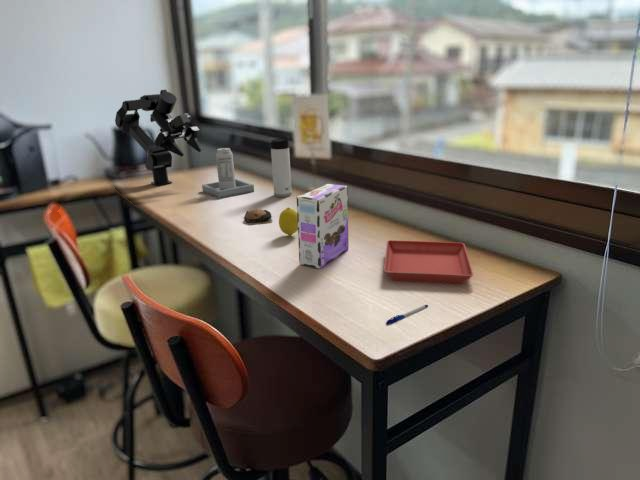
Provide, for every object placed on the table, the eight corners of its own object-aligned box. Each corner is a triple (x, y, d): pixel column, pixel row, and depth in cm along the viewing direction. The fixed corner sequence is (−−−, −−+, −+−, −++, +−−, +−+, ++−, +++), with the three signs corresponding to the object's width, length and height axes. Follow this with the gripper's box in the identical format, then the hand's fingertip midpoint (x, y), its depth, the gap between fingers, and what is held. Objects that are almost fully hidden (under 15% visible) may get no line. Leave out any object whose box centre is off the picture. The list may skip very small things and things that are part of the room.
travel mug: (292, 197, 166) (288, 139, 159) (273, 197, 166) (269, 139, 159) (293, 192, 172) (290, 136, 165) (275, 193, 172) (271, 137, 165)
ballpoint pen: (388, 326, 84) (388, 321, 84) (385, 324, 85) (385, 319, 84) (428, 307, 90) (428, 302, 89) (424, 306, 90) (424, 301, 90)
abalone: (274, 224, 140) (273, 212, 139) (245, 227, 139) (244, 215, 137) (269, 214, 150) (269, 203, 149) (242, 216, 148) (241, 205, 147)
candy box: (320, 269, 107) (317, 199, 102) (298, 265, 110) (294, 196, 105) (349, 249, 118) (348, 184, 112) (329, 245, 121) (327, 182, 115)
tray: (202, 191, 178) (201, 184, 177) (236, 184, 186) (235, 178, 185) (219, 198, 167) (218, 191, 167) (254, 191, 175) (253, 184, 174)
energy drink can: (237, 187, 179) (234, 147, 174) (233, 191, 173) (229, 150, 168) (222, 187, 180) (218, 147, 174) (217, 191, 174) (212, 150, 169)
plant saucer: (472, 289, 97) (474, 274, 96) (383, 285, 100) (383, 270, 99) (463, 255, 113) (464, 242, 112) (386, 252, 116) (387, 240, 115)
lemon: (303, 233, 130) (301, 205, 128) (295, 240, 126) (294, 211, 123) (284, 231, 132) (282, 204, 129) (276, 238, 127) (274, 209, 125)
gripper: (155, 109, 166) (183, 142, 164) (193, 104, 181) (218, 134, 180) (143, 131, 172) (169, 163, 171) (180, 124, 187) (205, 154, 186)
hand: (191, 153), depth 177 cm, fingers open, 9 cm apart
